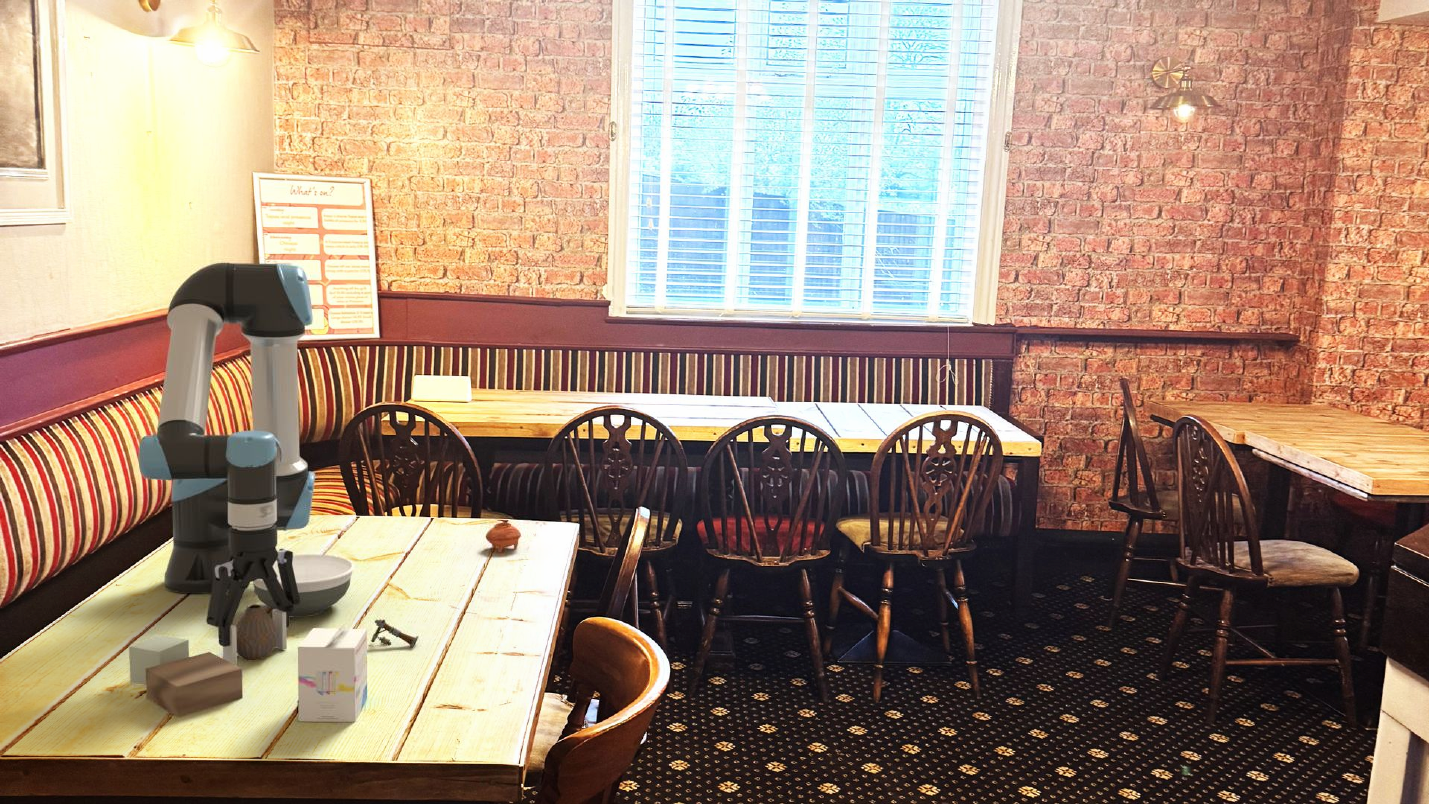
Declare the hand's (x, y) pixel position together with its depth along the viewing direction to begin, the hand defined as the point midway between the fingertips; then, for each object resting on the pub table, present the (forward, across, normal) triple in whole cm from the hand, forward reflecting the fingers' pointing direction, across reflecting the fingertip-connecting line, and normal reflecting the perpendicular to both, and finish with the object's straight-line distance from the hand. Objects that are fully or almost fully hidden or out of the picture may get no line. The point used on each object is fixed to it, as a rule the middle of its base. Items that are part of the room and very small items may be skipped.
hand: (255, 655), depth 192 cm
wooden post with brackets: (+1, +18, -14) cm, 23 cm away
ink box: (+1, -6, -28) cm, 29 cm away
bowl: (0, +20, +14) cm, 25 cm away
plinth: (+1, -16, -8) cm, 18 cm away
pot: (0, +75, +15) cm, 77 cm away
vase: (0, 0, 0) cm, 0 cm away
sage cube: (0, -15, +3) cm, 15 cm away
